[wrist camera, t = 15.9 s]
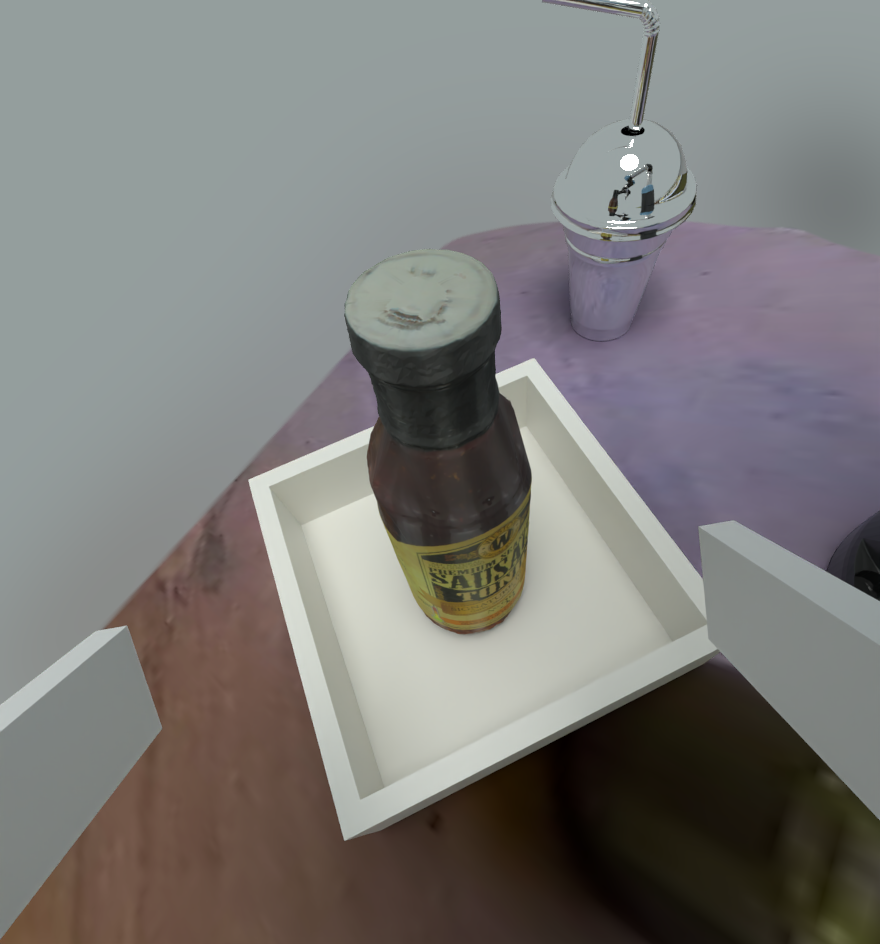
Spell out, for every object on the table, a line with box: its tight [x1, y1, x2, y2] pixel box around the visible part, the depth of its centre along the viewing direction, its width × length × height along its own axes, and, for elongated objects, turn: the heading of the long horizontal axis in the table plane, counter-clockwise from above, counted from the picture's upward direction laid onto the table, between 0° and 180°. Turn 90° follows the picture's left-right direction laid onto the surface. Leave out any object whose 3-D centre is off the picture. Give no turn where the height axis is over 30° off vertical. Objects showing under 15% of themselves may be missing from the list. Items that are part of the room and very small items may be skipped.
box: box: [248, 358, 720, 841], centre depth 28 cm, size 18×18×6 cm
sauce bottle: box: [344, 249, 532, 634], centre depth 21 cm, size 7×6×20 cm
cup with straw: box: [542, 0, 697, 341], centre depth 32 cm, size 8×9×20 cm
